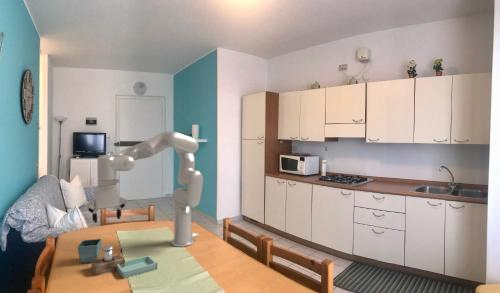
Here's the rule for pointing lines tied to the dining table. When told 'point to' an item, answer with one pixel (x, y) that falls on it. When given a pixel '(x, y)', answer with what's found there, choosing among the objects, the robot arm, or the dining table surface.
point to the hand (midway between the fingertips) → (107, 220)
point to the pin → (108, 253)
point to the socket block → (107, 264)
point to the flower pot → (89, 250)
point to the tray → (137, 266)
